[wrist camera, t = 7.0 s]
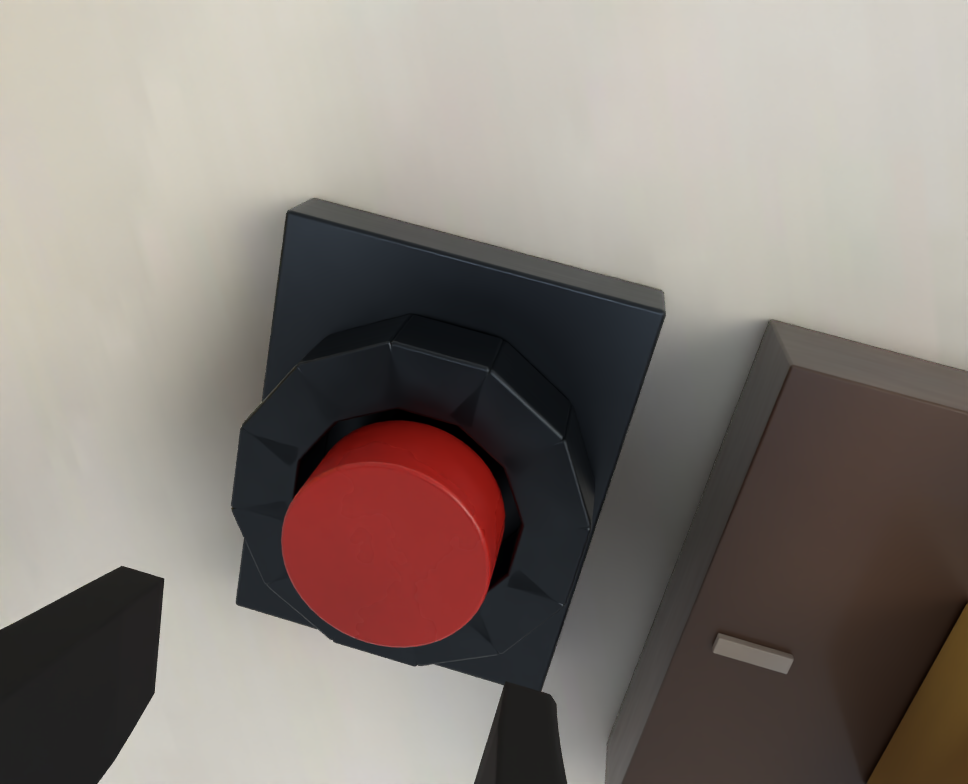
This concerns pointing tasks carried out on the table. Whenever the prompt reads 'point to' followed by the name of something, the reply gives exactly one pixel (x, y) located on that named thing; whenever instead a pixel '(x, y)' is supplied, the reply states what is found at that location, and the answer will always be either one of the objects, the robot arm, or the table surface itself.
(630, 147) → the table surface
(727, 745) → the plate
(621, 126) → the table surface
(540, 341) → the box
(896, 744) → the thumb turn
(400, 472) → the bell button
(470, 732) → the table surface
